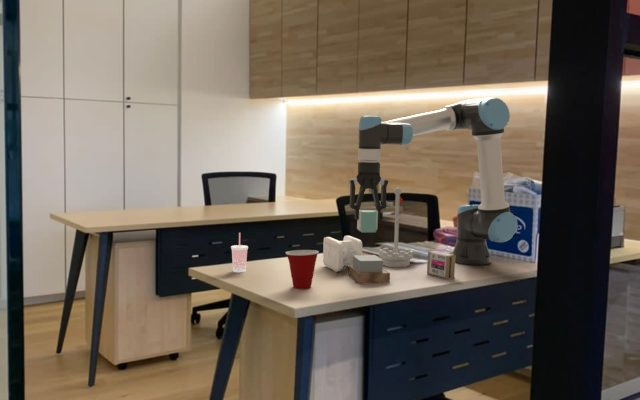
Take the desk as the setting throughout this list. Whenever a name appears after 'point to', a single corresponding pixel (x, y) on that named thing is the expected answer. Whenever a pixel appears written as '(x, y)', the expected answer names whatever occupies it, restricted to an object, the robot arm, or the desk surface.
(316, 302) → the desk surface
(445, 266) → the ink box
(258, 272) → the desk surface
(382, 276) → the walnut slab
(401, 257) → the flag stand
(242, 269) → the beverage cup
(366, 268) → the grey slab
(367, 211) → the teal block
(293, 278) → the plastic cup
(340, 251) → the cable organizer
